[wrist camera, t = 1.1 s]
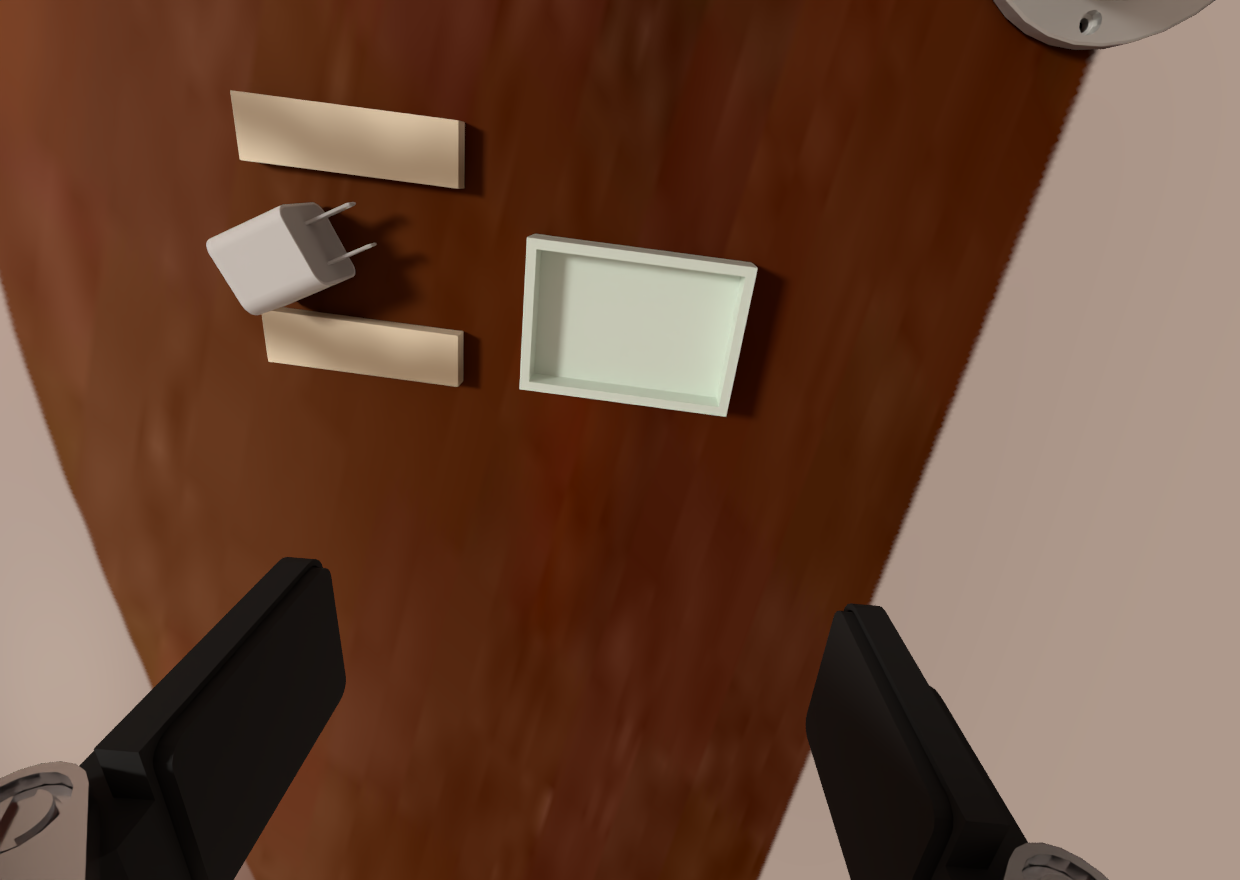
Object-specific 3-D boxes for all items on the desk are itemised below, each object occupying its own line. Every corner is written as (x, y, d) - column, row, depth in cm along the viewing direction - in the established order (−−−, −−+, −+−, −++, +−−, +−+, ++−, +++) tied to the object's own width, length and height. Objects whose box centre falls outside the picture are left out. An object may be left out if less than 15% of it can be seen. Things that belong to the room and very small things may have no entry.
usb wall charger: (253, 232, 31) (200, 239, 28) (361, 182, 30) (320, 183, 26) (294, 302, 33) (249, 318, 29) (399, 257, 31) (366, 268, 28)
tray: (534, 233, 30) (526, 237, 29) (751, 262, 30) (757, 268, 29) (526, 377, 34) (519, 389, 32) (722, 403, 34) (726, 416, 32)
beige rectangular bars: (243, 93, 29) (230, 90, 28) (464, 122, 28) (458, 120, 28) (278, 356, 34) (268, 361, 33) (463, 381, 34) (457, 386, 33)
